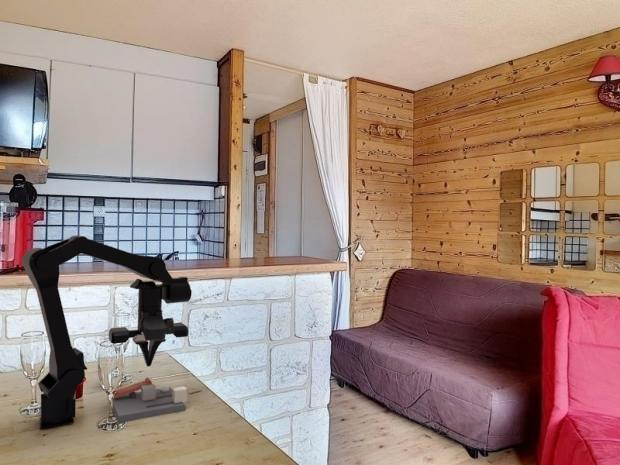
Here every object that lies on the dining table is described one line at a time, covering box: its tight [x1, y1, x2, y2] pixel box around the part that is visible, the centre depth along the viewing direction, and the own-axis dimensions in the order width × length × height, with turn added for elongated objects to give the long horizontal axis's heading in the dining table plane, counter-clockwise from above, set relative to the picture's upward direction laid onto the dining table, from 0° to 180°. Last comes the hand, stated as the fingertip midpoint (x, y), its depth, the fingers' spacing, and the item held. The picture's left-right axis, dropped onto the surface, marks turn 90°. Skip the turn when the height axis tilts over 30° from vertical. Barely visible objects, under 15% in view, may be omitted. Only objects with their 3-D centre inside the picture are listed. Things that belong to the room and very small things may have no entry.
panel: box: [112, 386, 186, 423], centre depth 114 cm, size 15×14×3 cm
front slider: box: [171, 385, 188, 403], centre depth 113 cm, size 3×2×3 cm
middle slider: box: [140, 383, 157, 401], centre depth 114 cm, size 3×2×3 cm
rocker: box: [113, 377, 153, 398], centre depth 116 cm, size 9×3×1 cm, turn 121°
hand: (148, 366), depth 118 cm, fingers closed
